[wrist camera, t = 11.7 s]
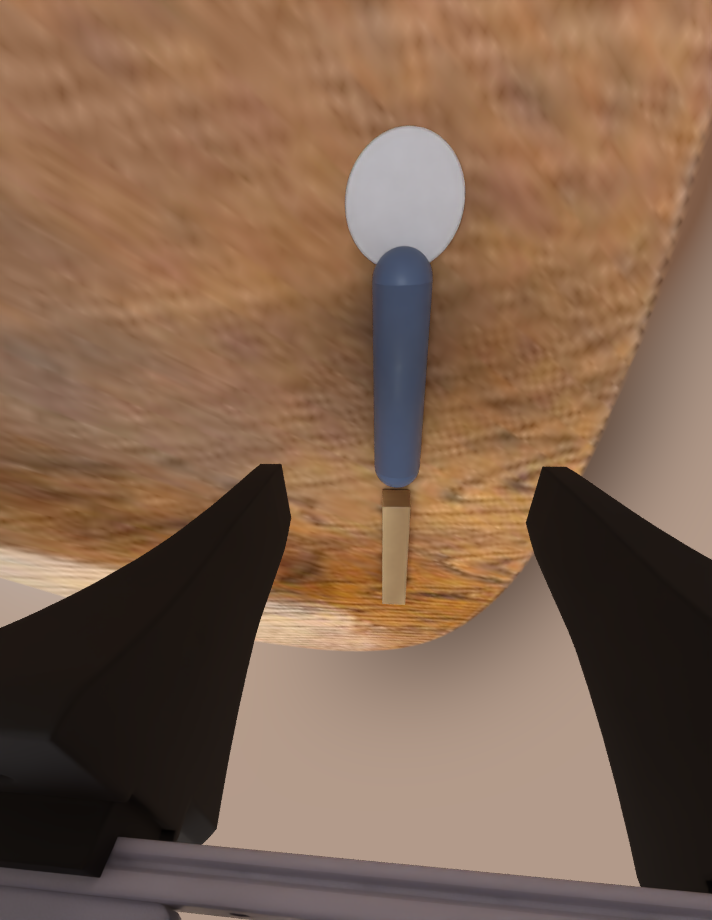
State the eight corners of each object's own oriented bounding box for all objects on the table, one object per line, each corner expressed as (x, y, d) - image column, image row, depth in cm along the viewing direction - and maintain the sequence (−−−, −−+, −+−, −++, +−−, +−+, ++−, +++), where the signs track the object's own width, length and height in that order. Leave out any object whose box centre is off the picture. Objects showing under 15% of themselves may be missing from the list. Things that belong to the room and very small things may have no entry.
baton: (382, 584, 27) (382, 604, 26) (382, 489, 22) (382, 506, 21) (404, 585, 27) (405, 604, 26) (409, 489, 22) (410, 507, 21)
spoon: (434, 470, 21) (439, 497, 19) (358, 470, 22) (355, 496, 20) (468, 126, 13) (482, 110, 11) (344, 134, 13) (336, 121, 11)
